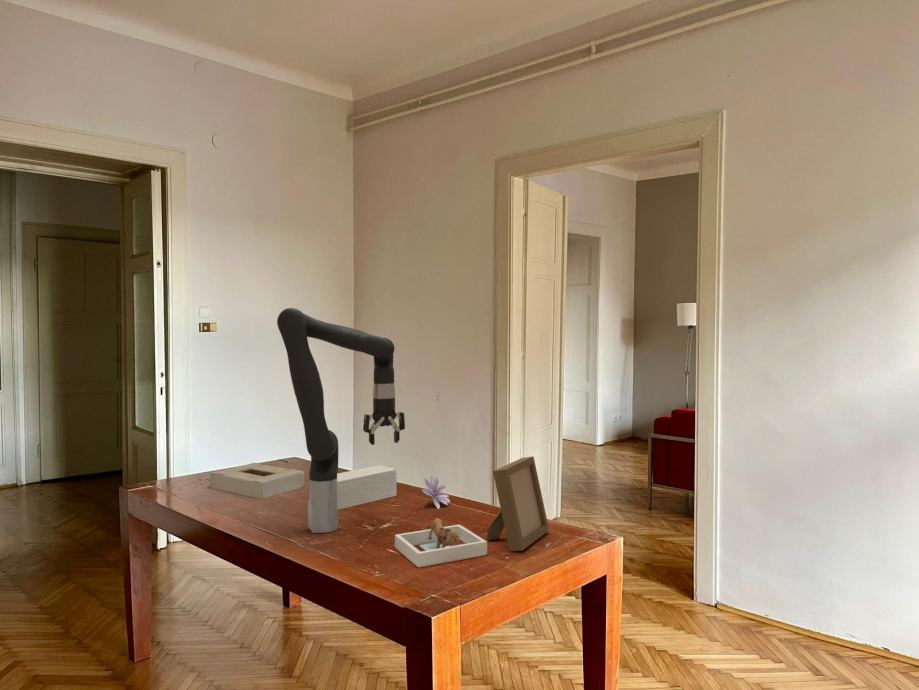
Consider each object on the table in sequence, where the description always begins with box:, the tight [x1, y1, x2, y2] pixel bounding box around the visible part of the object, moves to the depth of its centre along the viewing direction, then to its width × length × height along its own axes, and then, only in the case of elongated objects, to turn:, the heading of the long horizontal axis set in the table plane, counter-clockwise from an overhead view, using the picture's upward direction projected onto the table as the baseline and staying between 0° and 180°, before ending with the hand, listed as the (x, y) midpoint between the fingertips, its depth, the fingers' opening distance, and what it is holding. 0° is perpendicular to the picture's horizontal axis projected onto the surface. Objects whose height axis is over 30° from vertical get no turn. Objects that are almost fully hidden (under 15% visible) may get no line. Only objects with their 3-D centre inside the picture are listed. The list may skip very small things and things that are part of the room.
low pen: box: [394, 524, 488, 568], centre depth 203 cm, size 22×18×4 cm
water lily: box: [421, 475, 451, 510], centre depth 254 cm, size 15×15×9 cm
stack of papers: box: [337, 464, 398, 510], centre depth 259 cm, size 32×11×11 cm, turn 134°
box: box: [209, 462, 305, 500], centre depth 280 cm, size 23×8×32 cm
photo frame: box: [485, 456, 550, 552], centre depth 213 cm, size 15×22×25 cm
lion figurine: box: [426, 517, 460, 549], centre depth 203 cm, size 15×5×9 cm, turn 33°
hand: (384, 443), depth 228 cm, fingers open, 8 cm apart
